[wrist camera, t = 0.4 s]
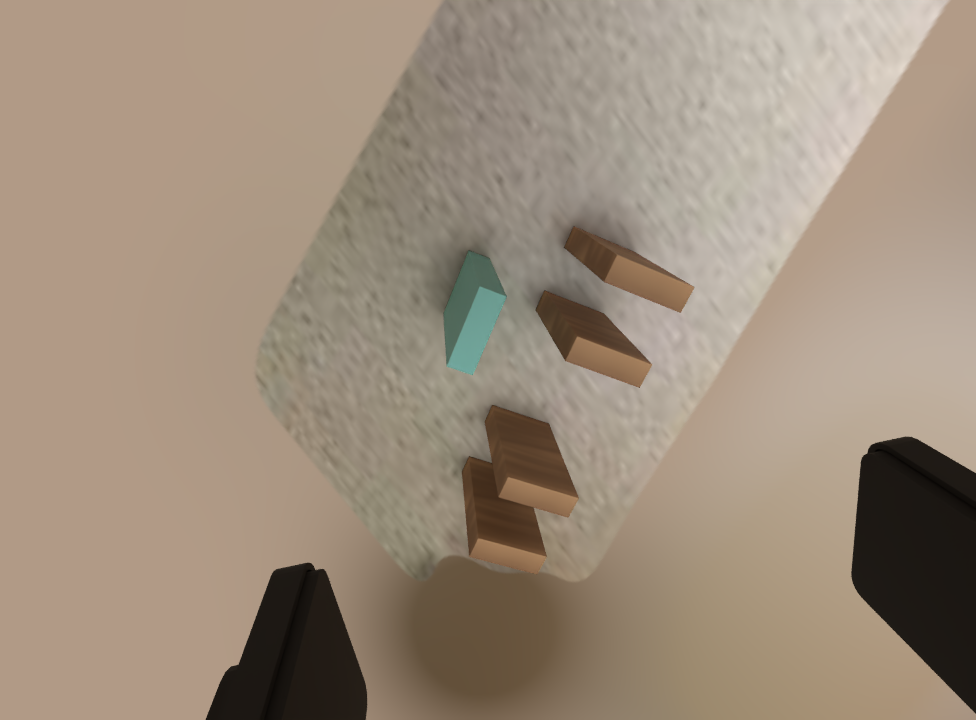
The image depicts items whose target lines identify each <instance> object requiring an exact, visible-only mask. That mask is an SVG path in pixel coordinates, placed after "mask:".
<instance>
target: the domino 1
mask: <svg viewBox="0 0 976 720" xmlns="http://www.w3.org/2000/svg"><path fill="white" fill-rule="evenodd" d="M506 297H507V296H506V294H505V292H504V289H503V287H502V285H501V283H500V281H499V278H498V276H497V274H496V272H495V270H494V267H493V265H492V263H491V261H490V259H489V258H487V257H484V256H482V255H479V254H477V253H474V252H472V251H468V253H467V256H466V258H465V261H464V263H463V266H462V268H461V271H460V273H459V276H458V278H457V281H456V283H455V286H454V288H453V291H452V293H451V296H450V298H449V301H448V304H447V306H446V309H445V311H444V331H445V347H446V364H447V367H450V368H453V369H456V370H459V371H462V372H465V373H467V374H470V375H473V374H474V371H475V369H476V367H477V364H478V362H479V360H480V357H481V355H482V353H483V350H484V348H485V346H486V343H487V341H488V339H489V337H490V334H491V332H492V330H493V327H494V325H495V323H496V320H497V318H498V316H499V313H500V311H501V309H502V307H503V304H504V302H505V300H506Z"/></svg>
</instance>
